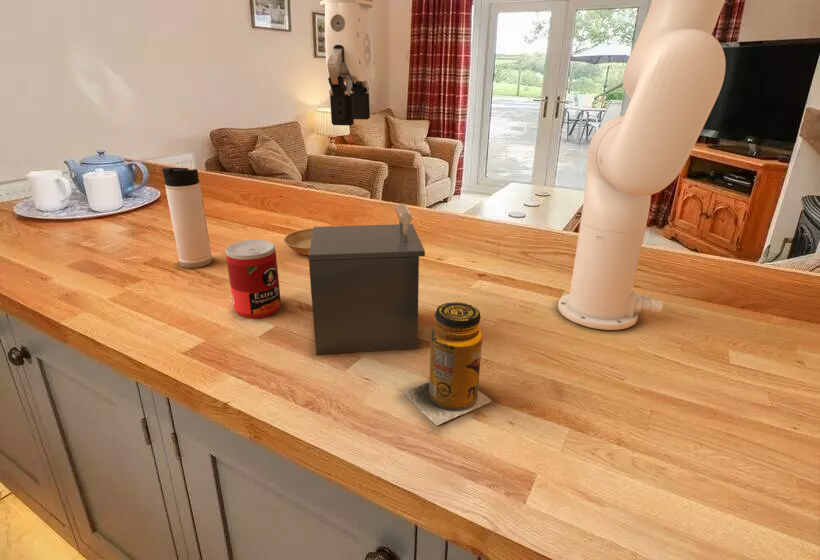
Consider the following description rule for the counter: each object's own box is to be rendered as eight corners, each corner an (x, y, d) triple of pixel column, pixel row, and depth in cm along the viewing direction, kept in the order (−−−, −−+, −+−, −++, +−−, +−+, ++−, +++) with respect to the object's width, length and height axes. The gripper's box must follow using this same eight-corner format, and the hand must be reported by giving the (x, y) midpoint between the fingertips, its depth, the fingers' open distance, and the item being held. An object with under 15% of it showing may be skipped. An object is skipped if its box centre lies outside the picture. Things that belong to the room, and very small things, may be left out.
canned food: (257, 323, 78) (248, 259, 74) (223, 311, 82) (214, 249, 78) (291, 305, 84) (285, 245, 80) (259, 294, 88) (251, 236, 84)
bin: (407, 310, 83) (407, 229, 77) (417, 348, 72) (419, 257, 66) (319, 314, 81) (313, 231, 76) (316, 354, 70) (308, 261, 64)
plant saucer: (275, 257, 105) (273, 246, 104) (297, 236, 119) (296, 226, 118) (342, 261, 104) (341, 249, 103) (357, 239, 117) (356, 228, 116)
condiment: (492, 402, 60) (500, 315, 56) (436, 427, 56) (440, 335, 51) (455, 373, 66) (459, 292, 61) (402, 394, 62) (402, 308, 57)
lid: (412, 228, 78) (413, 196, 76) (424, 256, 66) (425, 219, 64) (313, 231, 76) (311, 199, 74) (308, 260, 64) (305, 223, 62)
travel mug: (171, 266, 100) (152, 167, 92) (195, 256, 106) (179, 162, 98) (195, 270, 98) (177, 170, 90) (218, 260, 104) (204, 164, 96)
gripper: (356, -16, 61) (361, 128, 68) (385, 2, 76) (387, 117, 83) (298, -14, 62) (309, 127, 69) (338, 3, 78) (344, 116, 84)
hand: (351, 121), depth 76 cm, fingers open, 9 cm apart
